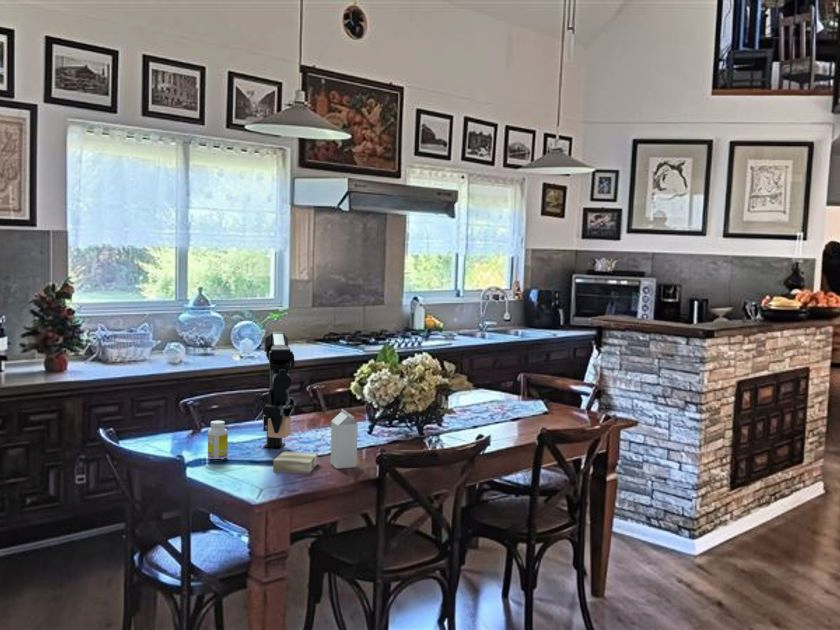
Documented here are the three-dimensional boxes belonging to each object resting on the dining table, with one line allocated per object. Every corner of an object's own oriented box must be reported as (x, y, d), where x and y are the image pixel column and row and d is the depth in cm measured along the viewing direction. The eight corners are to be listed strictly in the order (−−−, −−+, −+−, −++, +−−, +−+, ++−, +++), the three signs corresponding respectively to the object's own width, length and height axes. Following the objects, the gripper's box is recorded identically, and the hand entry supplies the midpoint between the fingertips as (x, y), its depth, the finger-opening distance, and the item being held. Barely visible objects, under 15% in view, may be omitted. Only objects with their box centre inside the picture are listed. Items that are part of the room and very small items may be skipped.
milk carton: (336, 469, 273) (338, 413, 271) (330, 463, 280) (331, 409, 278) (356, 467, 276) (358, 412, 274) (350, 461, 282) (351, 408, 281)
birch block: (283, 462, 280) (283, 451, 280) (317, 464, 279) (317, 453, 279) (273, 472, 269) (273, 460, 268) (308, 474, 267) (308, 463, 267)
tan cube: (273, 432, 277) (273, 415, 276) (290, 434, 276) (290, 416, 275) (267, 437, 271) (267, 419, 270) (285, 438, 270) (285, 420, 269)
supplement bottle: (229, 455, 285) (229, 419, 283) (225, 461, 278) (225, 424, 277) (209, 455, 284) (210, 419, 283) (205, 460, 278) (205, 423, 277)
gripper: (266, 379, 282) (265, 423, 283) (247, 388, 264) (246, 435, 265) (297, 381, 280) (296, 425, 282) (280, 390, 262) (279, 438, 263)
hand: (279, 431), depth 273 cm, fingers closed on tan cube, 6 cm apart
